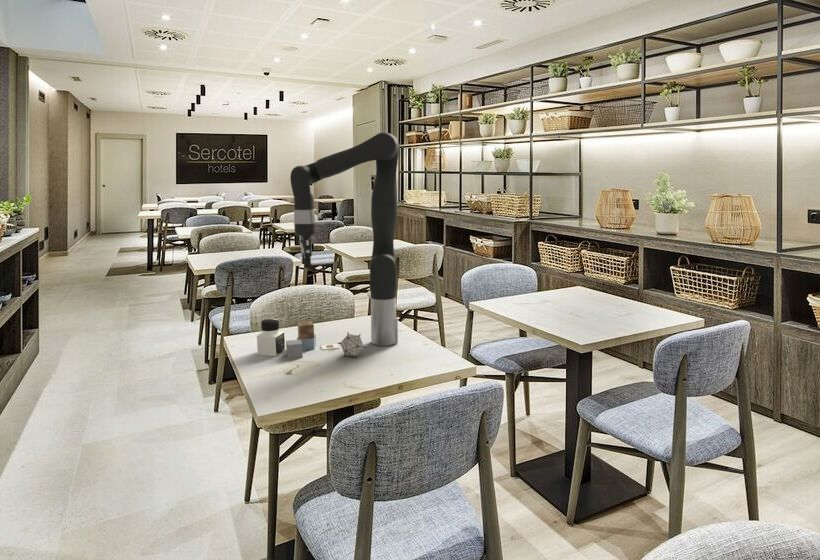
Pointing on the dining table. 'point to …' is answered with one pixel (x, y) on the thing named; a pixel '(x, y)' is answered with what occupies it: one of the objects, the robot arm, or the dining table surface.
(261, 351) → the medicine bottle
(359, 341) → the grey icosahedron
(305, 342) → the base block
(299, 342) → the gray block
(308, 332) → the walnut block
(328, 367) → the dining table surface
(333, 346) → the card
